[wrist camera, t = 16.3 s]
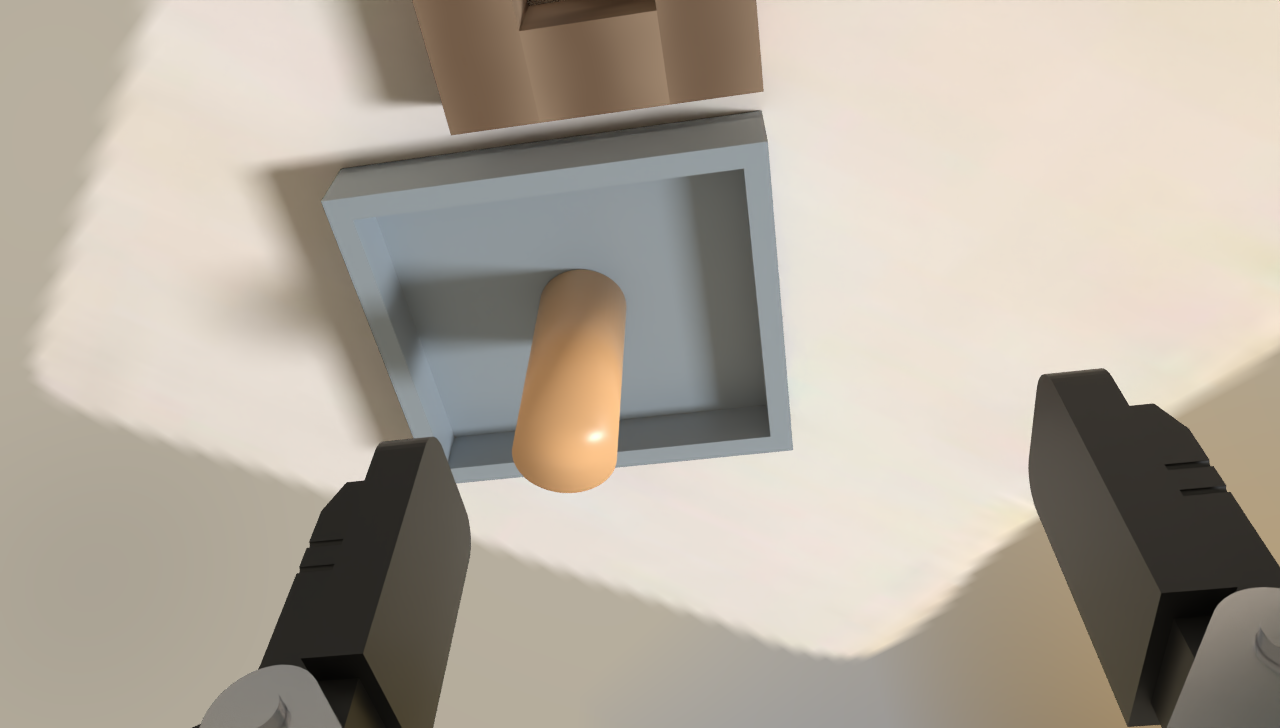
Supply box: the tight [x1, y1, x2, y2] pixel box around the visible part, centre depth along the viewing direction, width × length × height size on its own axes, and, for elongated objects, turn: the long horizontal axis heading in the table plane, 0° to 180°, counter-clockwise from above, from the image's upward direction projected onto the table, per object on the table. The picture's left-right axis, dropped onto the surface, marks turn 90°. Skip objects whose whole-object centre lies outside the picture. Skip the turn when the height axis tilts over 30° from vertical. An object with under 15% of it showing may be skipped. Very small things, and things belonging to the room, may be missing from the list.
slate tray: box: [321, 111, 793, 483], centre depth 44 cm, size 18×16×3 cm
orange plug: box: [512, 269, 627, 493], centre depth 41 cm, size 4×4×10 cm
